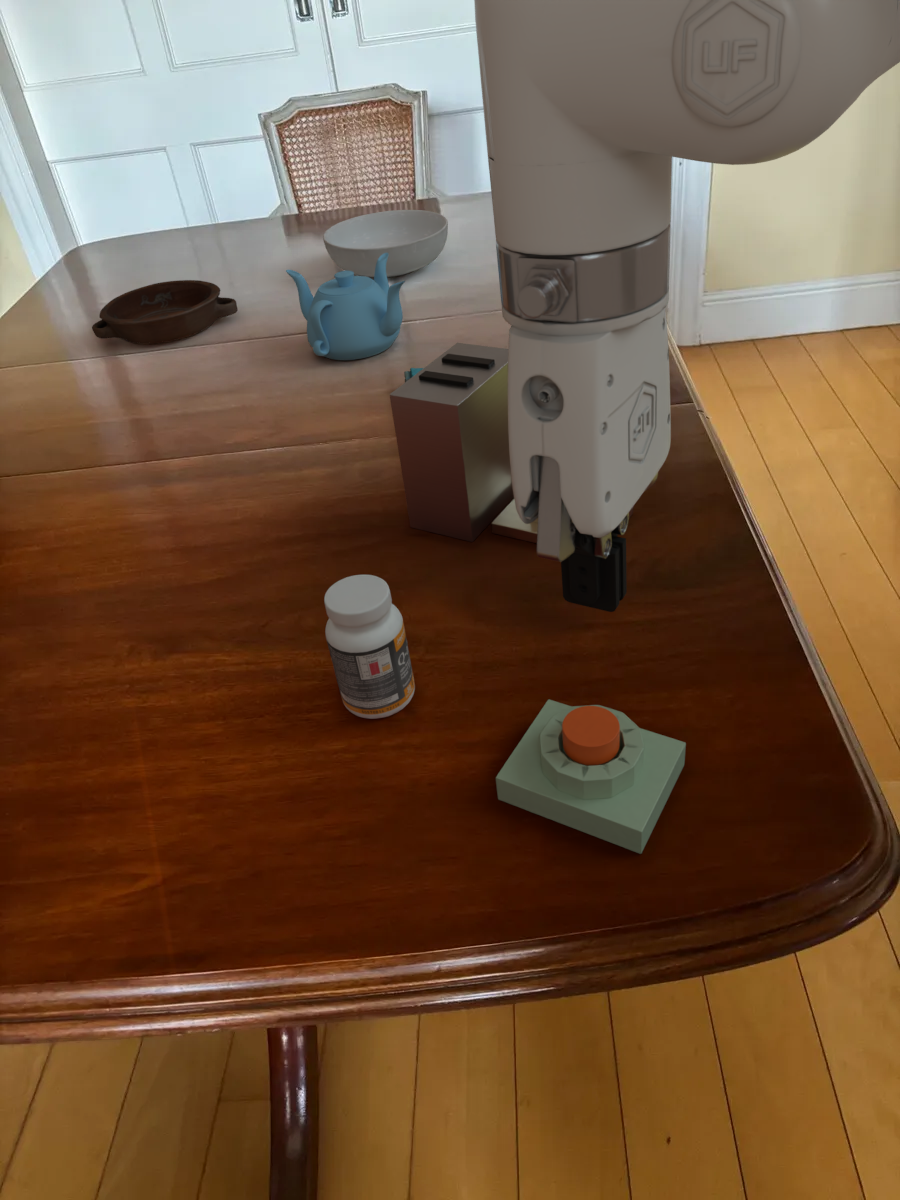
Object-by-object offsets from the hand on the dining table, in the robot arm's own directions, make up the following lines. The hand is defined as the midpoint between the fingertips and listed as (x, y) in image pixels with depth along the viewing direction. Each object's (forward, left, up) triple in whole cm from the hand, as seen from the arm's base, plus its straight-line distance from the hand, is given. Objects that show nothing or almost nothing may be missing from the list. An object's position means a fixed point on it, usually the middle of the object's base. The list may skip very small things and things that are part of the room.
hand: (594, 598), depth 51 cm
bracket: (+15, -27, -15) cm, 35 cm away
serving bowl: (+75, -88, -16) cm, 117 cm away
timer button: (0, 0, -12) cm, 12 cm away
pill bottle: (+18, 0, -16) cm, 24 cm away
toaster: (+25, -27, -15) cm, 40 cm away
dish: (+95, -55, -16) cm, 111 cm away
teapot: (+61, -59, -16) cm, 87 cm away
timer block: (0, +1, -15) cm, 15 cm away
